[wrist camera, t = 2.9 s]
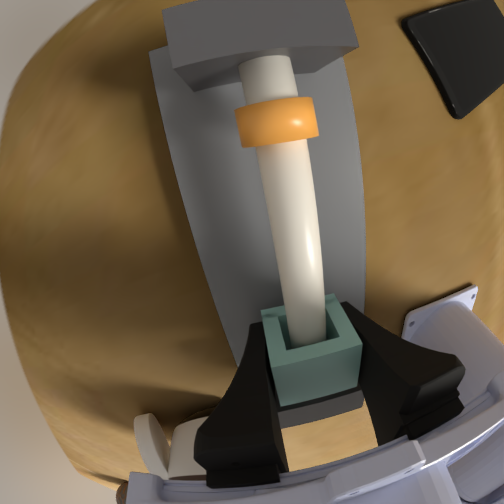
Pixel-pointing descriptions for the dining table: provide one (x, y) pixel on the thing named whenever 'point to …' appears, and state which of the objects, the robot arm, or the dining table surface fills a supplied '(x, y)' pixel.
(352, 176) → the rod and ring fixture
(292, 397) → the marker sleeve
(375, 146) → the dining table surface
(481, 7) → the smartphone
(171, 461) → the spread jar
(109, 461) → the dining table surface
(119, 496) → the vase
